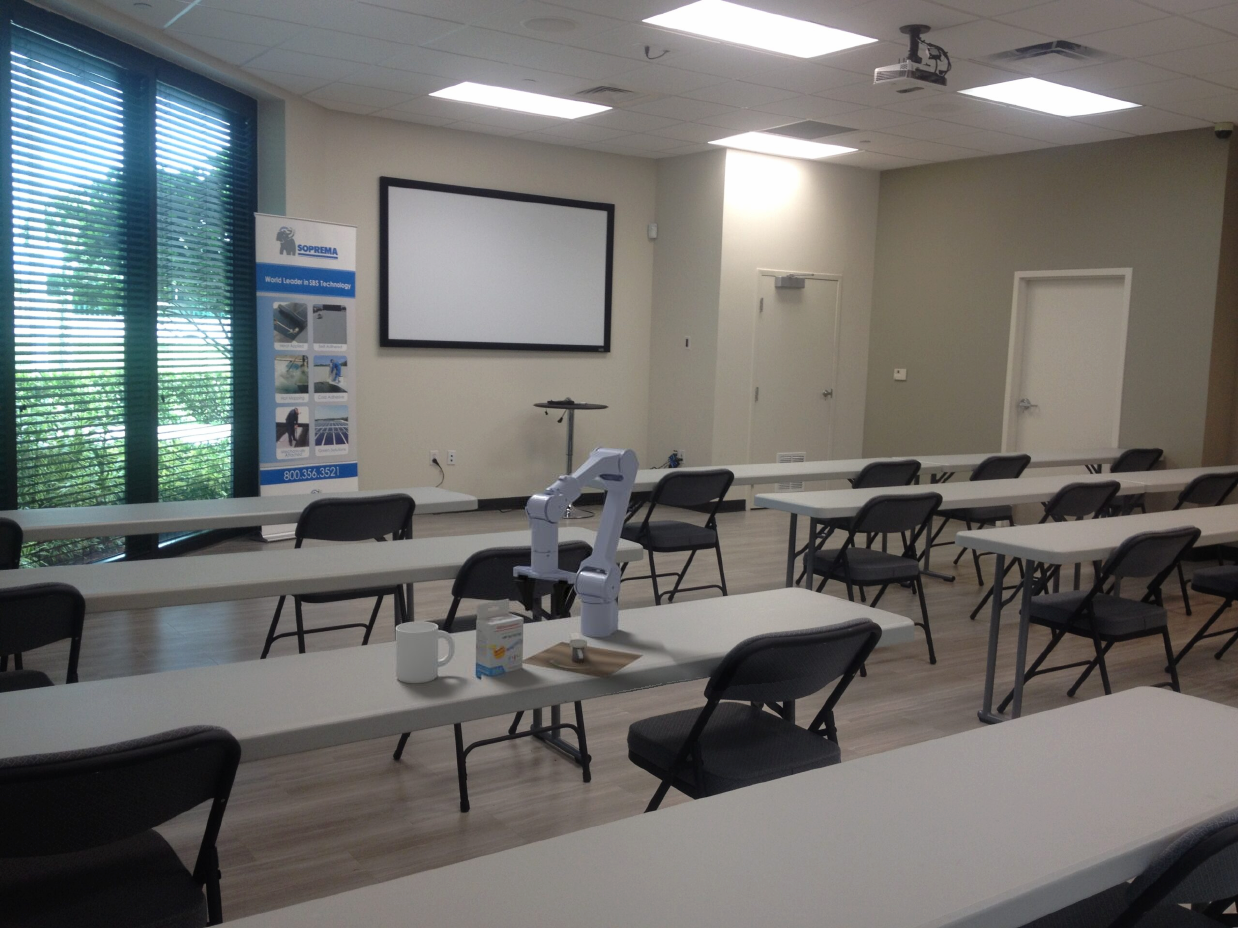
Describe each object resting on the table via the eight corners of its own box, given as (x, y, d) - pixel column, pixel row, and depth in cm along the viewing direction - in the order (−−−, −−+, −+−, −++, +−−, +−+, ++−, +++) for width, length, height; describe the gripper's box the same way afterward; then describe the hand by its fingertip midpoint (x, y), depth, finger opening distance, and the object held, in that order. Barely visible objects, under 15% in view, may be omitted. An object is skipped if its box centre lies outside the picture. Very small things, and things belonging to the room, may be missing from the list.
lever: (589, 668, 200) (590, 649, 200) (572, 668, 200) (572, 649, 199) (582, 647, 215) (582, 629, 214) (565, 648, 214) (565, 630, 214)
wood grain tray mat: (561, 647, 220) (561, 640, 219) (643, 660, 211) (643, 654, 210) (519, 667, 204) (519, 661, 204) (605, 683, 195) (605, 676, 195)
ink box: (490, 682, 194) (490, 609, 193) (474, 676, 198) (475, 604, 196) (523, 673, 200) (524, 602, 199) (508, 667, 204) (509, 597, 202)
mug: (448, 666, 204) (448, 617, 203) (461, 678, 196) (461, 627, 195) (390, 674, 198) (390, 623, 197) (402, 686, 191) (402, 634, 190)
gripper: (505, 549, 210) (505, 612, 212) (565, 556, 204) (564, 620, 205) (523, 544, 217) (522, 605, 218) (581, 551, 210) (580, 613, 212)
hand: (544, 612), depth 212 cm, fingers open, 7 cm apart
